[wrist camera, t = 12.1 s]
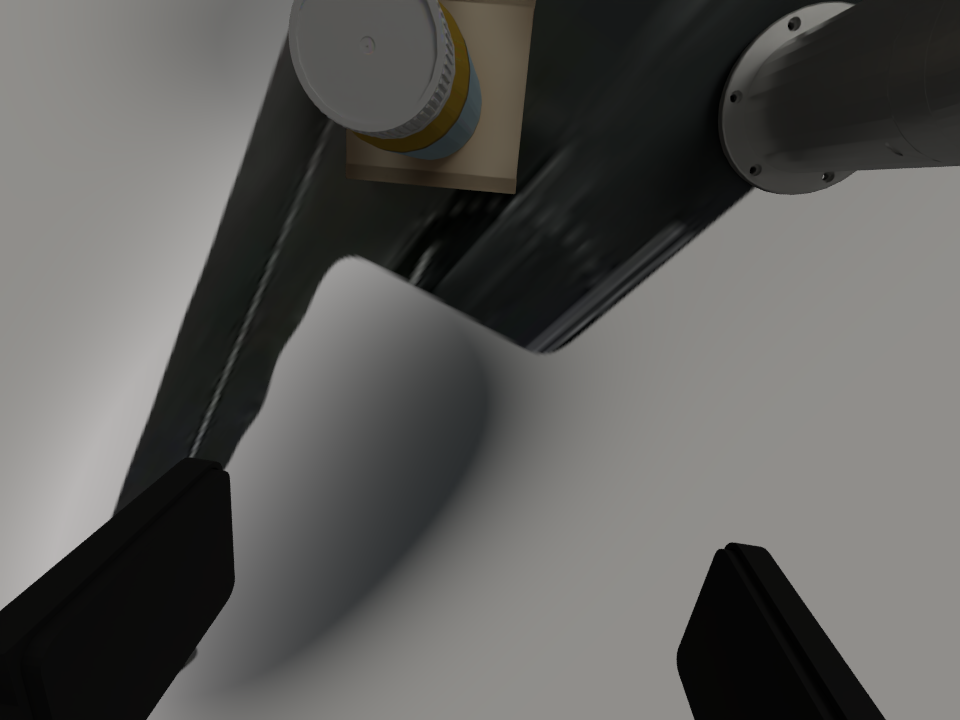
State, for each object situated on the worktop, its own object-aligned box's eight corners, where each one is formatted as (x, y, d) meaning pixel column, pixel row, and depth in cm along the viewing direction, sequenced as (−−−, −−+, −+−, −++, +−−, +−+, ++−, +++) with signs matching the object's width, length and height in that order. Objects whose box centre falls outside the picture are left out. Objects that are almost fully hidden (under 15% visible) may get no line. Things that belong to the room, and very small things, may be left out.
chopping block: (532, 19, 36) (536, -12, 30) (514, 192, 40) (514, 193, 34) (370, 6, 36) (344, -28, 30) (369, 179, 40) (345, 178, 34)
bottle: (456, 178, 34) (415, 175, 20) (364, 131, 33) (255, 94, 19) (500, 75, 32) (488, -11, 17) (402, 23, 31) (309, -110, 17)
